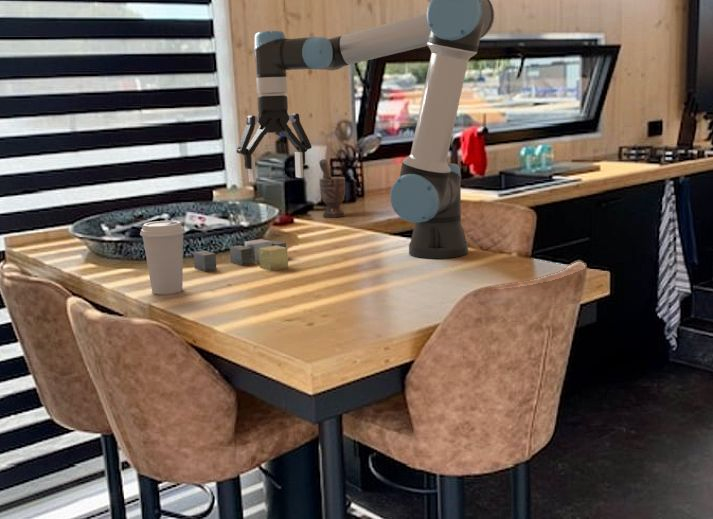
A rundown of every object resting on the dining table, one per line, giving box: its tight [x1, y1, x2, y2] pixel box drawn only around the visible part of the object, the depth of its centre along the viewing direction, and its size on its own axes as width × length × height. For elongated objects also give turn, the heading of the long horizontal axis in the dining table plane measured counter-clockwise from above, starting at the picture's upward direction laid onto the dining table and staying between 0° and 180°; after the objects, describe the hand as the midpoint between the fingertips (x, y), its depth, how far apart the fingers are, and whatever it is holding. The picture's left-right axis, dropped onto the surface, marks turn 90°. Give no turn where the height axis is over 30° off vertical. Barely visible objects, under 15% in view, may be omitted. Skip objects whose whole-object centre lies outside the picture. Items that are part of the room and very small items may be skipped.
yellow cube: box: [259, 245, 289, 272], centre depth 206 cm, size 5×5×5 cm
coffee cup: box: [139, 220, 186, 296], centre depth 184 cm, size 10×10×15 cm
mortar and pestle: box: [319, 158, 346, 219], centre depth 285 cm, size 12×9×20 cm
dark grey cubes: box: [193, 239, 287, 272], centre depth 213 cm, size 6×23×4 cm, turn 126°
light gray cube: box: [244, 238, 272, 264], centre depth 216 cm, size 5×5×5 cm
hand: (276, 179), depth 216 cm, fingers open, 13 cm apart
